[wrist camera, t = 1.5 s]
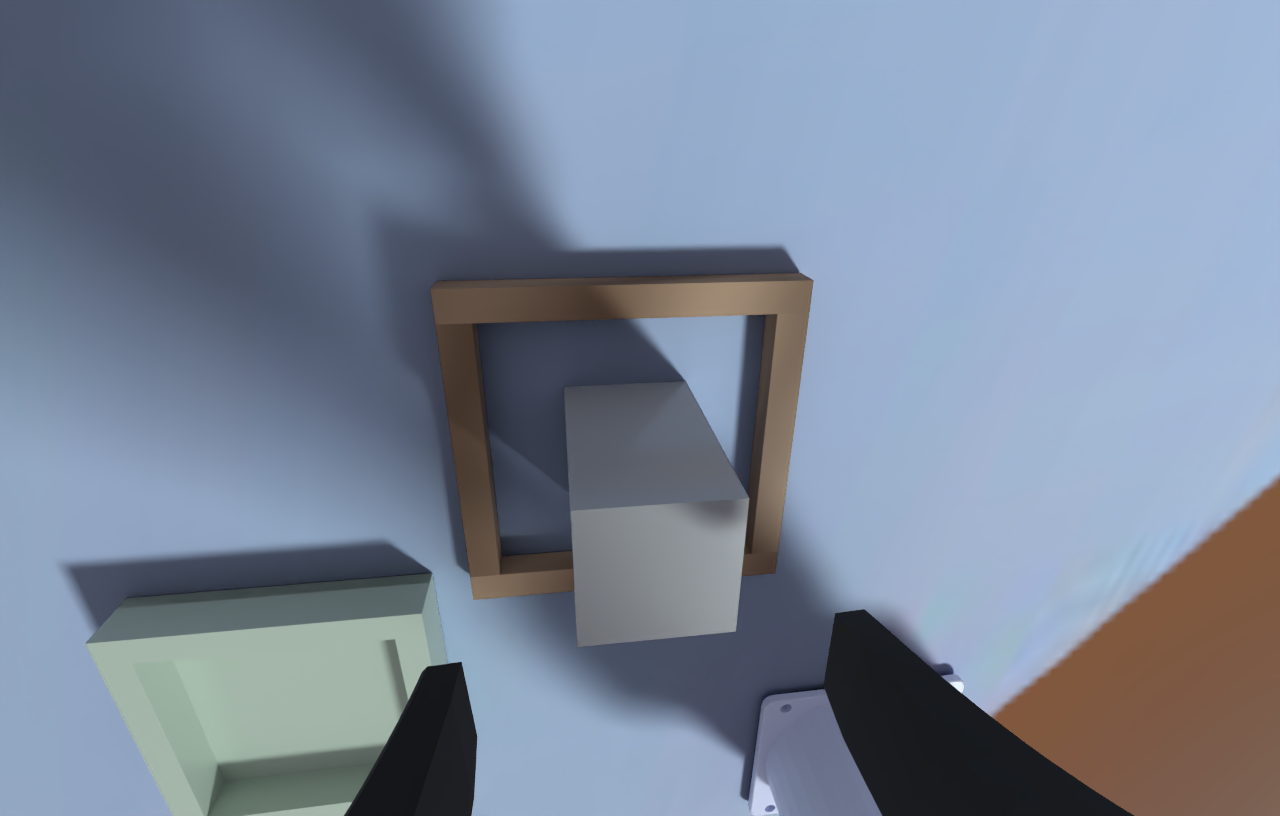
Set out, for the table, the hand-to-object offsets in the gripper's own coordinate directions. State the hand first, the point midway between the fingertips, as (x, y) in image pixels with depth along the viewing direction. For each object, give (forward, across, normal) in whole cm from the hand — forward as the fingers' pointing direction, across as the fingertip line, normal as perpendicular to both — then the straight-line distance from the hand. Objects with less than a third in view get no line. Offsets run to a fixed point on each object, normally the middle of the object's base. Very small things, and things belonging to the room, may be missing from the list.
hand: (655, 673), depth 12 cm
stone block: (+10, -1, 0) cm, 10 cm away
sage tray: (+10, +12, +10) cm, 18 cm away
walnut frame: (+10, -1, 0) cm, 10 cm away
